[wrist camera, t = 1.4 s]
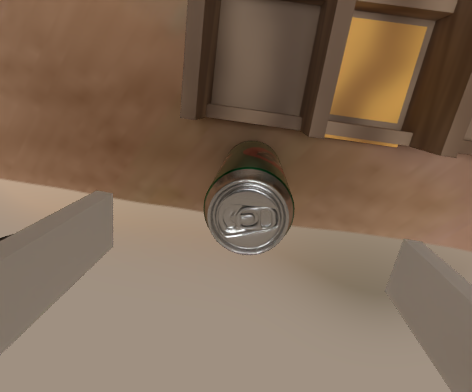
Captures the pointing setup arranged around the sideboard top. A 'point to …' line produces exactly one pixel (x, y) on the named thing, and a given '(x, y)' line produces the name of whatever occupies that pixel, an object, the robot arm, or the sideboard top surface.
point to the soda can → (249, 200)
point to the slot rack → (335, 69)
